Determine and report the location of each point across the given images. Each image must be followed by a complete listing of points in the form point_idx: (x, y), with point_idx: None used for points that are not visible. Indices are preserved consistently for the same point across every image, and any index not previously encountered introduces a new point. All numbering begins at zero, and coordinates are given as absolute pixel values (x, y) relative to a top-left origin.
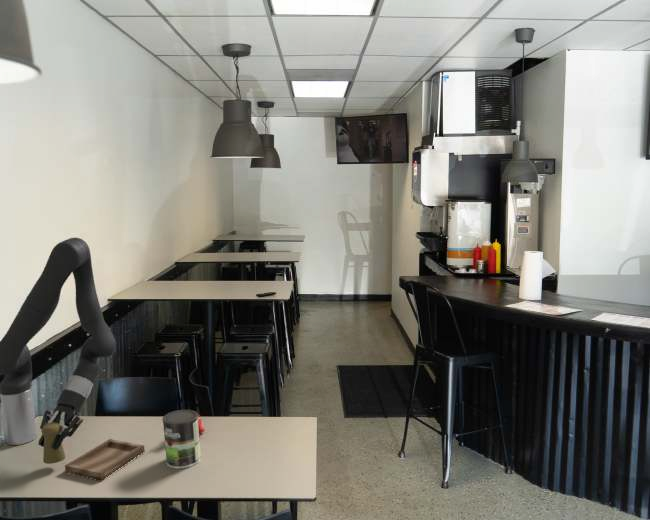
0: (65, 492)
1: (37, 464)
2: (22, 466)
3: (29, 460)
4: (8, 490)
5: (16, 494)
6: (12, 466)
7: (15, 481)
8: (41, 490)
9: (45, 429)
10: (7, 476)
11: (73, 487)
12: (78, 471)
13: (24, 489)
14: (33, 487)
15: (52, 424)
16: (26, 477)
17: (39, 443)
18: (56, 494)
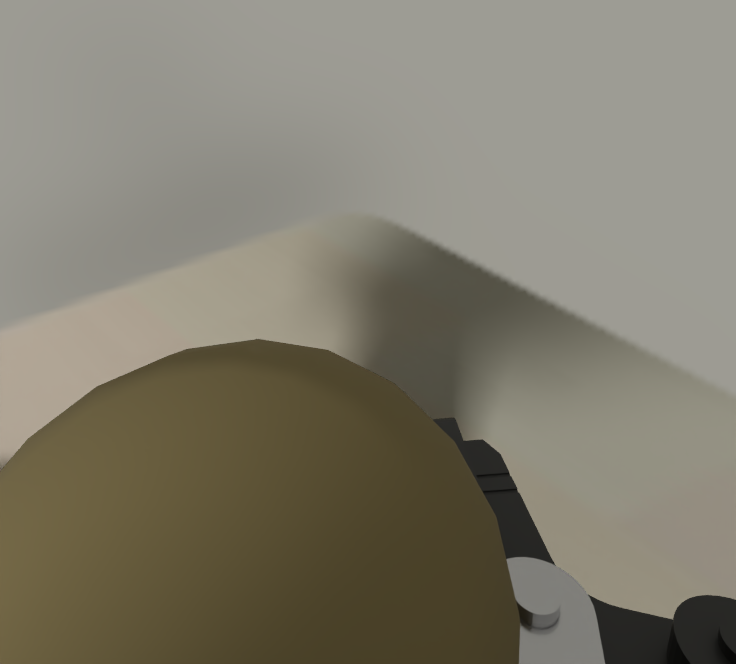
0: (38, 344)
1: (556, 530)
2: (629, 453)
3: (696, 553)
4: (389, 234)
5: (308, 228)
6: (697, 421)
7: (451, 303)
8: (202, 303)
9: (189, 352)
10: (565, 320)
11: (20, 402)
12: None
13: (311, 272)
14: (278, 304)
15: (36, 636)
16: (434, 361)
17: (433, 419)
18: (80, 310)
